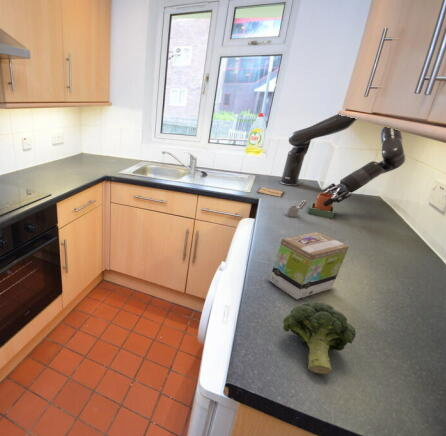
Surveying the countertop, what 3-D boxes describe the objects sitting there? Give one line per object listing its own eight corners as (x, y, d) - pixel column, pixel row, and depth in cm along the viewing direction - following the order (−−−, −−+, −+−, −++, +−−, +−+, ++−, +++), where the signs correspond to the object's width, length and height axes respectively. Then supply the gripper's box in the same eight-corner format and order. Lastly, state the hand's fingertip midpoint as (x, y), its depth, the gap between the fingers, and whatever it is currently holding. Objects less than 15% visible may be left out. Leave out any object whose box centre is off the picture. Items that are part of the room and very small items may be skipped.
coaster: (261, 187, 181) (261, 187, 180) (283, 191, 174) (283, 191, 174) (257, 192, 171) (257, 191, 171) (280, 197, 165) (280, 196, 165)
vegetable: (271, 354, 61) (277, 292, 70) (302, 382, 66) (304, 320, 74) (338, 358, 52) (335, 286, 61) (370, 390, 56) (363, 319, 65)
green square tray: (310, 207, 151) (311, 202, 149) (332, 212, 146) (334, 206, 144) (308, 213, 143) (310, 207, 142) (332, 218, 138) (334, 212, 137)
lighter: (287, 216, 139) (292, 200, 136) (286, 214, 141) (290, 198, 137) (303, 217, 139) (308, 201, 135) (301, 215, 140) (306, 199, 137)
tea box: (298, 301, 81) (313, 254, 75) (268, 281, 90) (280, 237, 84) (333, 289, 87) (350, 244, 81) (301, 271, 95) (315, 229, 89)
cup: (313, 209, 149) (318, 192, 145) (329, 212, 145) (334, 195, 142) (312, 213, 144) (318, 195, 140) (328, 216, 140) (334, 198, 137)
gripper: (369, 191, 130) (332, 213, 137) (351, 182, 144) (318, 202, 150) (360, 178, 129) (323, 201, 135) (342, 170, 142) (309, 192, 148)
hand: (320, 202), depth 142 cm, fingers closed on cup, 6 cm apart
